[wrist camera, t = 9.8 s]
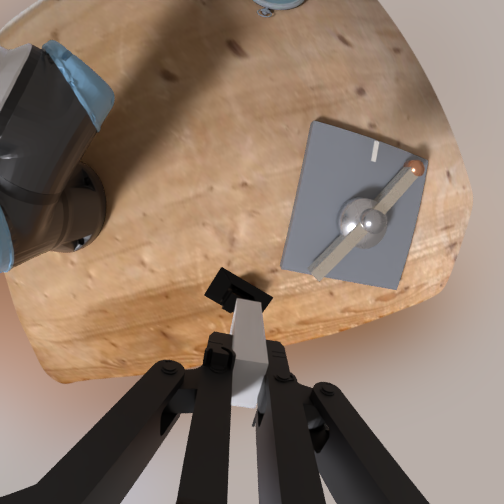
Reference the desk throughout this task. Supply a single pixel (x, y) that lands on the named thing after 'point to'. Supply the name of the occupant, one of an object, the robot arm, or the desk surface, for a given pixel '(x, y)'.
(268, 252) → the desk surface
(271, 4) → the pocket watch
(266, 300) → the black stepped block
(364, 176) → the stand
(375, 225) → the rotary pointer lever
